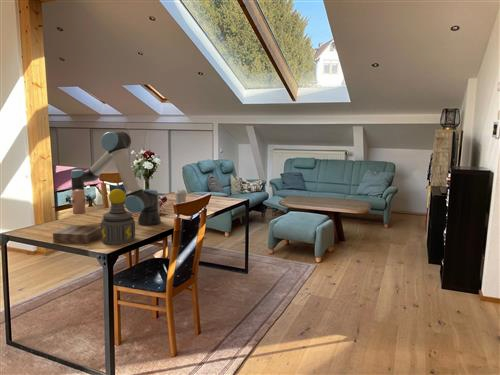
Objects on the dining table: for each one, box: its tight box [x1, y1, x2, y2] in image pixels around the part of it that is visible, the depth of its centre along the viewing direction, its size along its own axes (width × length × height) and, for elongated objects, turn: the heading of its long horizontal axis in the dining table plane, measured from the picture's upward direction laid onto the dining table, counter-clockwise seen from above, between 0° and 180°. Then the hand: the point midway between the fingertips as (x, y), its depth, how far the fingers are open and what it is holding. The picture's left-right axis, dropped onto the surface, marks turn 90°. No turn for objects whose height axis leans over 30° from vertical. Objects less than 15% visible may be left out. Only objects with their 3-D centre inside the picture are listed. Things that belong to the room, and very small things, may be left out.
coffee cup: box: [174, 189, 187, 203], centre depth 306 cm, size 10×10×15 cm
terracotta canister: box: [71, 189, 86, 215], centre depth 230 cm, size 7×7×14 cm
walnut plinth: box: [52, 224, 101, 244], centre depth 219 cm, size 20×18×5 cm
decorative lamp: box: [100, 188, 136, 245], centre depth 215 cm, size 19×19×30 cm
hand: (78, 201), depth 226 cm, fingers closed on terracotta canister, 7 cm apart
